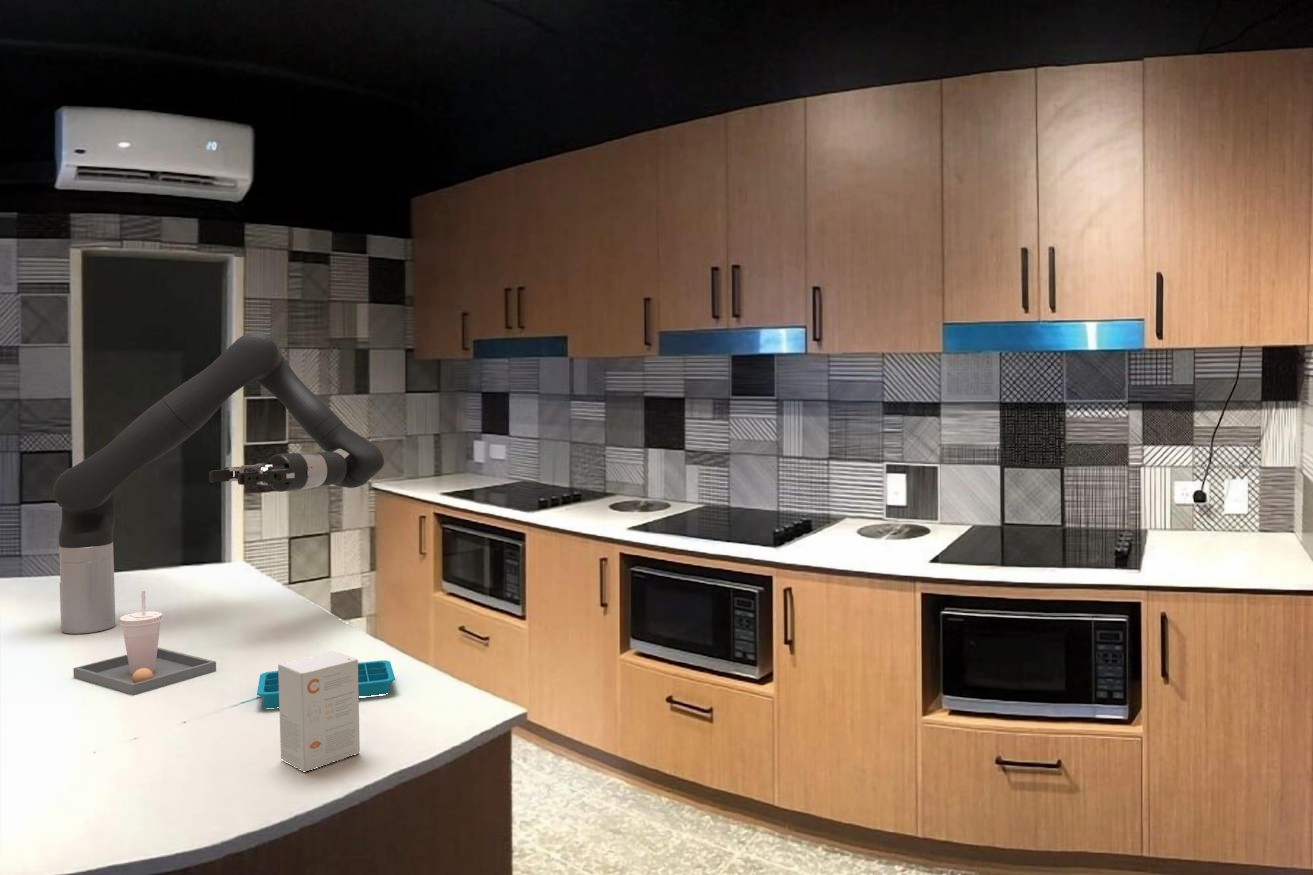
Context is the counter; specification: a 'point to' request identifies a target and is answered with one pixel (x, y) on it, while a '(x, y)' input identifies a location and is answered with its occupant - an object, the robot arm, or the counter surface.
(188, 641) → the counter surface
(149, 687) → the tray
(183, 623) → the counter surface
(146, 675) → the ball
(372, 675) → the ice cube tray
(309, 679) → the small box
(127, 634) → the smoothie
